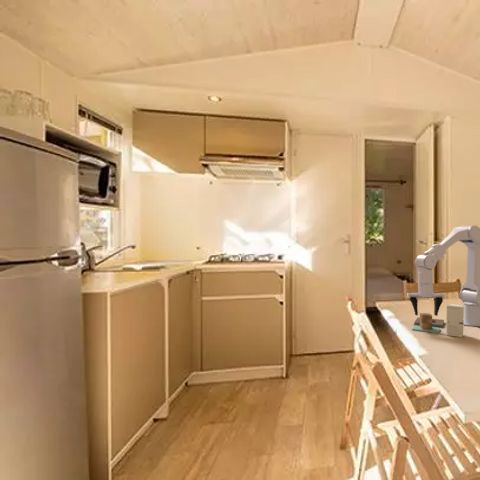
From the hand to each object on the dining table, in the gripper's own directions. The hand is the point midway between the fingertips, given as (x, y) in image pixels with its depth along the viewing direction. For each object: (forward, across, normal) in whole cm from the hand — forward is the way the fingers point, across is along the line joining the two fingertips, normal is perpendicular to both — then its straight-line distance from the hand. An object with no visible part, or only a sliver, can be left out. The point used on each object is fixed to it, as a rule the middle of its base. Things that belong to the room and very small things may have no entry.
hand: (426, 315), depth 163 cm
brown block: (+6, 0, 0) cm, 6 cm away
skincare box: (+6, -9, +7) cm, 13 cm away
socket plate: (+6, -4, -11) cm, 13 cm away
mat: (+6, 0, 0) cm, 6 cm away
